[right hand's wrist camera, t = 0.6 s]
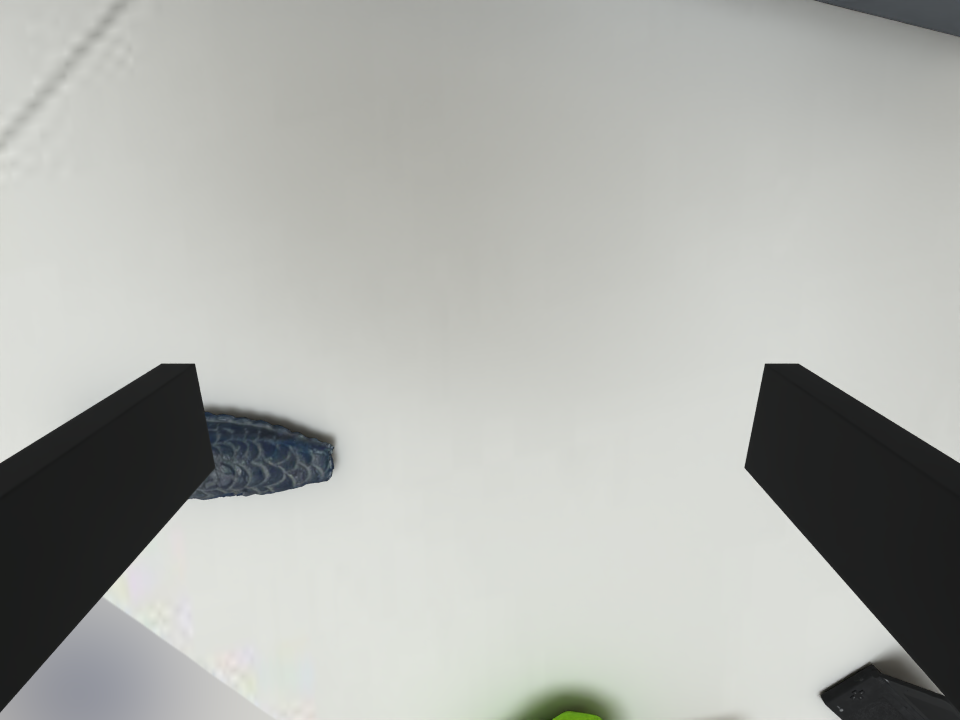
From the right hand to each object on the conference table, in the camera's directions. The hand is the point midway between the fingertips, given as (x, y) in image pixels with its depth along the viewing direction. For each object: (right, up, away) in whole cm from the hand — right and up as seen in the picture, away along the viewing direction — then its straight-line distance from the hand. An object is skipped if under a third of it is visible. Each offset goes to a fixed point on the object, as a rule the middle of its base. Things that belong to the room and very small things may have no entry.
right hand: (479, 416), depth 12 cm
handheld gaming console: (+40, -32, +40) cm, 65 cm away
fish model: (-22, -6, +31) cm, 38 cm away
